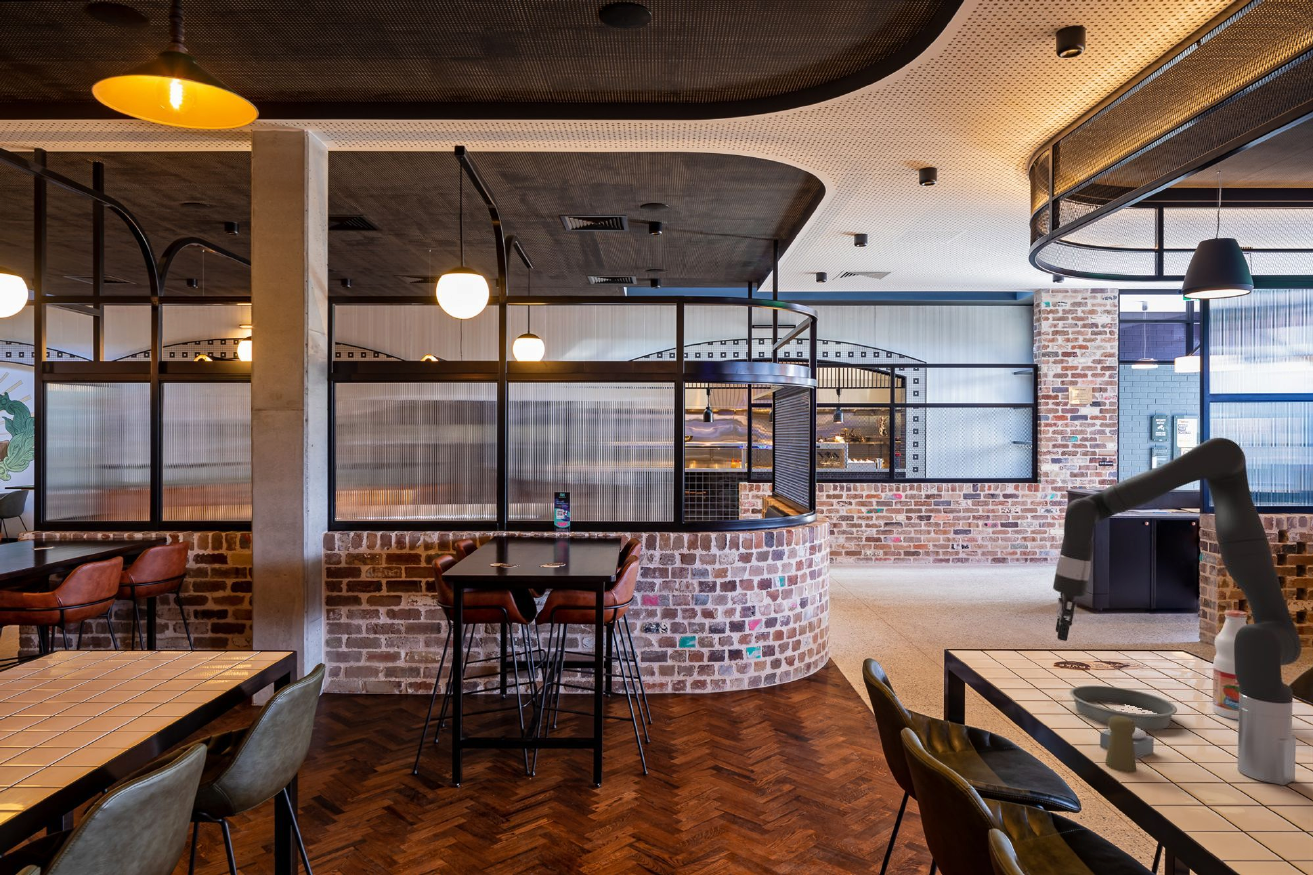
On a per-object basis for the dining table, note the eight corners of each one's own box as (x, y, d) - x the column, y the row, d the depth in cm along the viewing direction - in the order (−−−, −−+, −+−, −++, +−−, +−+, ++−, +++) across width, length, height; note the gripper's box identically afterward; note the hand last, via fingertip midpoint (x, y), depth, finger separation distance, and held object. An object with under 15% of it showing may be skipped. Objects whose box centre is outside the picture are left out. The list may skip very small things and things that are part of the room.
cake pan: (1176, 713, 208) (1177, 696, 208) (1176, 740, 188) (1177, 722, 188) (1074, 694, 222) (1074, 679, 222) (1064, 718, 202) (1064, 701, 202)
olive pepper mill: (1107, 758, 175) (1108, 710, 175) (1138, 766, 171) (1139, 717, 171) (1102, 766, 170) (1103, 717, 170) (1134, 775, 166) (1135, 724, 167)
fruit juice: (1237, 709, 212) (1239, 608, 212) (1265, 721, 202) (1267, 616, 203) (1203, 708, 212) (1206, 607, 212) (1229, 721, 202) (1231, 615, 203)
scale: (1153, 752, 179) (1153, 732, 179) (1134, 759, 175) (1135, 739, 175) (1117, 740, 186) (1118, 721, 186) (1099, 747, 182) (1099, 727, 182)
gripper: (1091, 582, 189) (1079, 646, 190) (1086, 574, 202) (1075, 633, 203) (1057, 575, 192) (1045, 638, 193) (1054, 567, 205) (1043, 626, 206)
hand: (1060, 636), depth 198 cm, fingers open, 8 cm apart
